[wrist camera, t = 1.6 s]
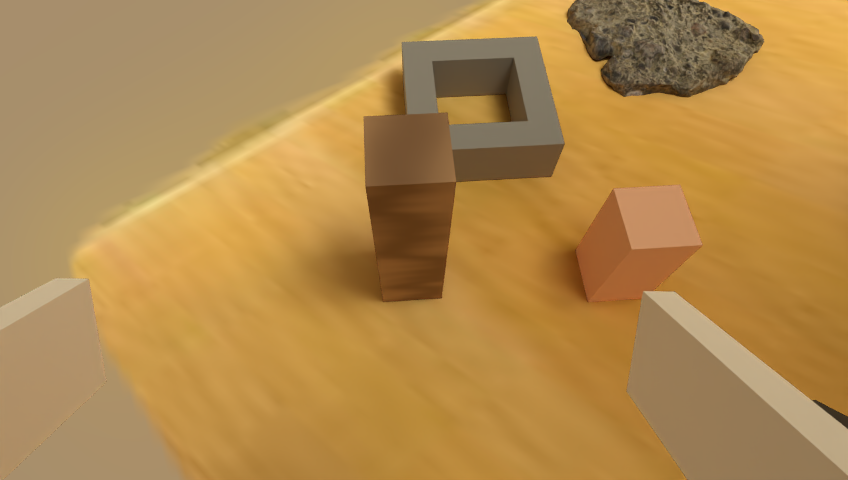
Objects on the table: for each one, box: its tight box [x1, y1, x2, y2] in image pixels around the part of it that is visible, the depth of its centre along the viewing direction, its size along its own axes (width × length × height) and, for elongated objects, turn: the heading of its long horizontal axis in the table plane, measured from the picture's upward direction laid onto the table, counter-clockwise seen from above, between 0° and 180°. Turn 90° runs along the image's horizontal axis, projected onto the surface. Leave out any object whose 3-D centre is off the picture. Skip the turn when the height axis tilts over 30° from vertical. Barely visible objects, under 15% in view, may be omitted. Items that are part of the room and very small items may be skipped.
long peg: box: [364, 113, 456, 302], centre depth 29 cm, size 4×4×14 cm
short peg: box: [575, 185, 703, 302], centre depth 32 cm, size 4×4×8 cm
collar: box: [402, 37, 565, 182], centre depth 40 cm, size 11×11×4 cm
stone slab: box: [567, 0, 764, 97], centre depth 46 cm, size 12×17×3 cm
